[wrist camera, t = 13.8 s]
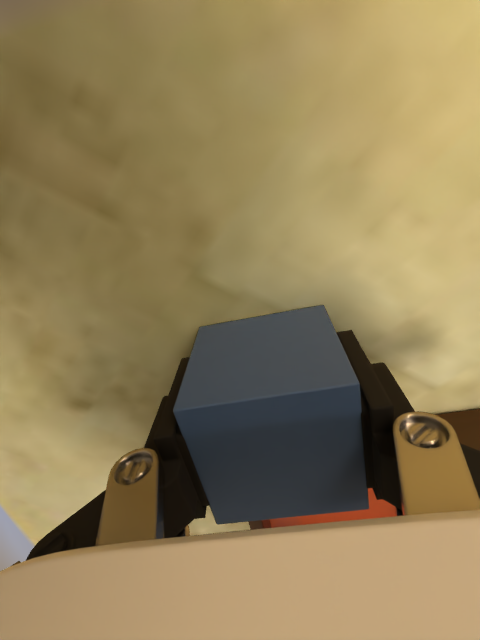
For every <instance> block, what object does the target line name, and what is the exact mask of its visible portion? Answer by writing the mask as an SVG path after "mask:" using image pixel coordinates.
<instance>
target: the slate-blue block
mask: <svg viewBox="0 0 480 640" xmlns="http://www.w3.org/2000/svg"><path fill="white" fill-rule="evenodd" d="M173 413H174V415H175V418H176V420H177V423H178V426H179V428H180V431H181V433H182V436H183V437H184V439H185V442H186V444H187V447H188V449H189V452H190V455H191V457H192V460H193V462H194V465H195V468H196V470H197V473H198V475H199V478H200V480H201V483H202V486H203V488H204V491H205V493H206V496H207V499H208V501H209V504H210V508H211V511H212V513H213V516H214V518H215V521H216V523H217V524H227V523H237V522H247V521H257V520H267V519H277V518H287V517H297V516H307V515H317V514H327V513H337V512H347V511H357V510H367V509H369V498H368V489H367V486H366V473H365V461H364V448H363V436H362V424H361V413H362V408H361V396H360V383H359V381H358V379H357V377H356V375H355V372H354V370H353V368H352V366H351V364H350V362H349V359H348V357H347V355H346V353H345V351H344V349H343V346H342V344H341V342H340V340H339V338H338V335H337V333H336V331H335V329H334V327H333V325H332V322H331V320H330V318H329V316H328V314H327V311H326V309H325V307H324V305H320V306H314V307H308V308H303V309H297V310H292V311H286V312H280V313H275V314H269V315H264V316H258V317H253V318H247V319H241V320H236V321H230V322H225V323H219V324H213V325H208V326H202V327H199V330H198V333H197V336H196V340H195V343H194V346H193V349H192V352H191V355H190V358H189V361H188V365H187V368H186V371H185V374H184V377H183V380H182V383H181V387H180V390H179V393H178V396H177V399H176V402H175V405H174V408H173Z"/></svg>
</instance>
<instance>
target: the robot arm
mask: <svg viewBox="0 0 480 640" xmlns="http://www.w3.org/2000/svg"><path fill="white" fill-rule="evenodd" d="M337 335H338V338H339V340H340V342H341V344H342V346H343V349H344V351H345V353H346V355H347V357H348V359H349V362H350V364H351V366H352V368H353V370H354V372H355V375H356V377H357V379H358V381H359V383H360V396H361V408H362V413H361V424H362V436H363V448H364V461H365V473H366V486H367V489H368V488H373V491H374V494H375V496H376V499H377V500H381V499H383V500H385V501H387V502H388V503H390V504H392V505H393V506H395V514H396V516H394V517H383V518H372V519H361V520H350V521H339V522H328V523H317V524H306V525H296V526H285V527H275V528H264V529H254V530H244V531H234V532H223V533H213V534H203V535H194V536H190V531H189V526H188V524H189V523H190V522H191V521H192V520H194V519H197V518H205V514H206V507H207V506H210V504H209V501H208V499H207V496H206V493H205V491H204V488H203V486H202V483H201V480H200V478H199V475H198V473H197V470H196V468H195V465H194V462H193V460H192V457H191V455H190V452H189V449H188V447H187V444H186V442H185V439H184V437H183V436H182V433H181V431H180V428H179V426H178V423H177V420H176V418H175V415H174V413H173V408H174V405H175V402H176V399H177V396H178V393H179V390H180V387H181V383H182V380H183V377H184V374H185V371H186V368H187V365H188V361H189V358H190V357H188V358H182V359H181V362H180V365H179V367H178V370H177V373H176V376H175V379H174V381H173V384H172V387H171V390H170V393H169V395H168V396H164V397H163V399H162V401H161V404H160V407H159V409H158V412H157V415H156V417H155V420H154V422H153V425H152V428H151V430H150V433H149V436H148V438H147V441H146V444H145V446H144V448H140V449H135V450H133V451H131V452H128V453H127V454H125V455H124V456H122V457H121V458H120V459H119V460H118V461H117V462H116V463H115V464H114V466H113V467H112V469H111V471H110V474H109V477H108V482H107V487H106V490H105V491H104V492H102V493H101V494H100V495H98V496H97V497H96V498H94V499H93V500H92V501H90V502H89V503H88V504H86V505H85V506H84V507H83V508H81V509H80V510H79V511H77V512H76V513H75V514H73V515H72V516H71V517H69V518H68V519H67V520H65V521H64V522H63V523H61V524H60V525H59V526H57V527H56V528H55V529H54V530H52V531H51V532H50V533H48V534H47V535H46V536H45V537H44V538H42V539H41V540H40V541H39V542H38V543H37V544H36V546H35V547H34V548H33V549H32V550H31V552H30V554H29V556H28V557H27V559H26V561H24V562H22V563H21V562H20V561H18V562H16V563H15V564H13V565H12V566H10V567H8V568H7V569H4V570H2V571H0V640H480V451H479V450H476V449H474V448H471V447H469V446H466V445H464V444H461V443H459V440H458V437H457V435H456V432H455V430H454V429H453V427H452V426H451V425H450V424H449V423H448V422H447V421H446V420H444V419H443V418H441V417H439V416H437V415H434V414H431V413H427V412H419V411H418V412H415V411H414V409H413V408H412V406H411V405H410V403H409V401H408V400H407V398H406V397H405V395H404V393H403V392H402V390H401V389H400V387H399V385H398V384H397V382H396V381H395V379H394V377H393V376H392V374H391V372H390V371H389V369H388V368H387V366H386V365H385V363H383V362H382V363H376V364H370V362H369V360H368V359H367V357H366V355H365V353H364V351H363V350H362V348H361V346H360V344H359V342H358V341H357V339H356V337H355V335H354V333H353V331H352V330H349V331H343V332H337Z"/></svg>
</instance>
